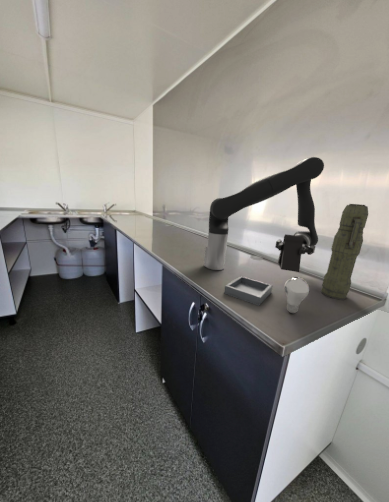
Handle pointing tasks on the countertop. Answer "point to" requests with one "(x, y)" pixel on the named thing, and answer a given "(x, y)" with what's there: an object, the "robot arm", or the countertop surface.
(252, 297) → the tray
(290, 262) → the door stopper
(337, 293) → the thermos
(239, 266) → the countertop surface
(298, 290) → the light bulb
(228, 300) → the countertop surface
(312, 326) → the countertop surface
